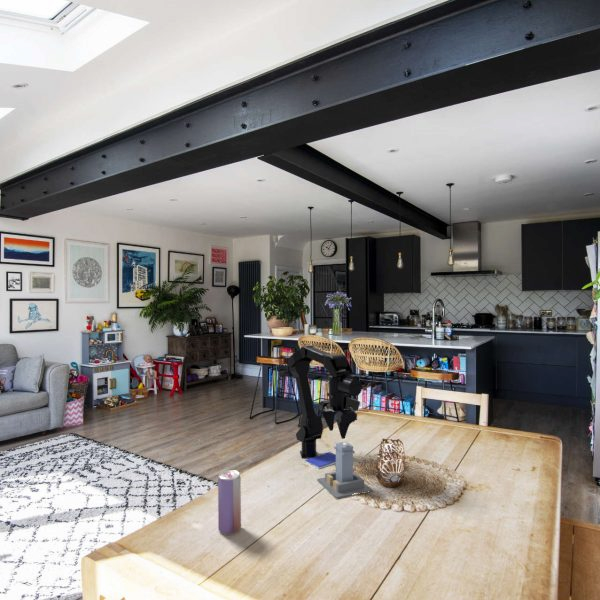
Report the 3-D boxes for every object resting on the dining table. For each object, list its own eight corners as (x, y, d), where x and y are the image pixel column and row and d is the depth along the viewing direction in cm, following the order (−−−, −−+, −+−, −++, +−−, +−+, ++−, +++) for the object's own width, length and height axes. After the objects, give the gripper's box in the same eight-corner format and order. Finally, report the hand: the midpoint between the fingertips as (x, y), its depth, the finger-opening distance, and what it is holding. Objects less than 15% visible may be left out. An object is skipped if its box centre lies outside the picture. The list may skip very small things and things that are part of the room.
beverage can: (222, 538, 112) (221, 481, 112) (215, 527, 118) (215, 472, 117) (244, 532, 115) (243, 476, 115) (236, 521, 121) (236, 468, 120)
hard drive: (329, 451, 170) (304, 459, 162) (343, 457, 164) (318, 466, 156) (329, 455, 170) (304, 463, 162) (343, 461, 164) (318, 470, 156)
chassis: (317, 480, 146) (317, 471, 146) (351, 474, 151) (351, 465, 151) (336, 499, 133) (336, 489, 133) (372, 491, 138) (372, 482, 138)
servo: (334, 481, 145) (334, 439, 144) (345, 479, 146) (344, 438, 146) (343, 489, 138) (343, 446, 138) (354, 487, 140) (354, 444, 140)
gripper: (370, 394, 148) (370, 439, 148) (344, 383, 165) (344, 424, 166) (341, 397, 144) (341, 444, 144) (318, 386, 161) (318, 427, 161)
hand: (337, 434), depth 154 cm, fingers open, 9 cm apart
